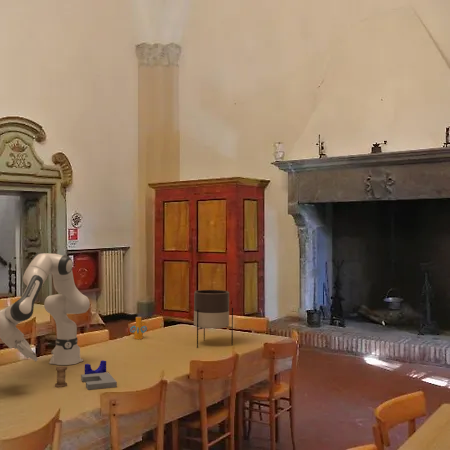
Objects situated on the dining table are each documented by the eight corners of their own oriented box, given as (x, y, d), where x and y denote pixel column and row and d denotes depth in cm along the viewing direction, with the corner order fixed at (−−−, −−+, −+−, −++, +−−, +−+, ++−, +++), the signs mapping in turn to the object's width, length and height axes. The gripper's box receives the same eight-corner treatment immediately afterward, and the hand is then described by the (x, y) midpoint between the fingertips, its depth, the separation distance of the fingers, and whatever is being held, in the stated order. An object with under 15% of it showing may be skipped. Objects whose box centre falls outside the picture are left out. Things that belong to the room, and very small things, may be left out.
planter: (216, 350, 375) (217, 295, 375) (184, 346, 388) (184, 292, 388) (237, 343, 398) (237, 291, 397) (206, 339, 411) (206, 288, 410)
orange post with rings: (150, 338, 413) (150, 316, 413) (140, 340, 404) (140, 318, 404) (136, 336, 419) (136, 315, 419) (126, 338, 411) (127, 317, 410)
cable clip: (89, 377, 309) (90, 365, 309) (84, 375, 312) (84, 364, 312) (108, 372, 318) (108, 361, 318) (102, 371, 321) (102, 360, 321)
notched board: (81, 379, 303) (81, 374, 303) (108, 377, 309) (108, 372, 309) (87, 389, 285) (87, 384, 285) (116, 387, 290) (116, 382, 290)
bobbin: (54, 384, 293) (54, 366, 293) (66, 383, 295) (66, 365, 295) (55, 387, 288) (56, 369, 288) (67, 386, 290) (67, 368, 290)
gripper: (21, 338, 275) (42, 357, 278) (18, 330, 294) (38, 349, 297) (10, 348, 273) (32, 368, 277) (8, 340, 292) (29, 358, 296)
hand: (36, 358), depth 287 cm, fingers open, 8 cm apart
